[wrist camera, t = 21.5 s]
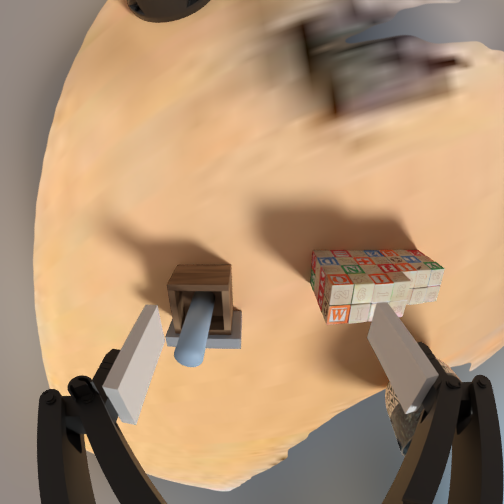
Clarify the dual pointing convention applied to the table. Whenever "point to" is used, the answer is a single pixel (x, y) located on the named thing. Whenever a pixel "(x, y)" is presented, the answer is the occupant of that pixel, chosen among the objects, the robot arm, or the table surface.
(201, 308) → the dowel
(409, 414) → the planter
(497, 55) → the table surface
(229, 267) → the slider block
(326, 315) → the stack of blocks
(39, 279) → the table surface
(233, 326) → the wall
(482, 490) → the robot arm
